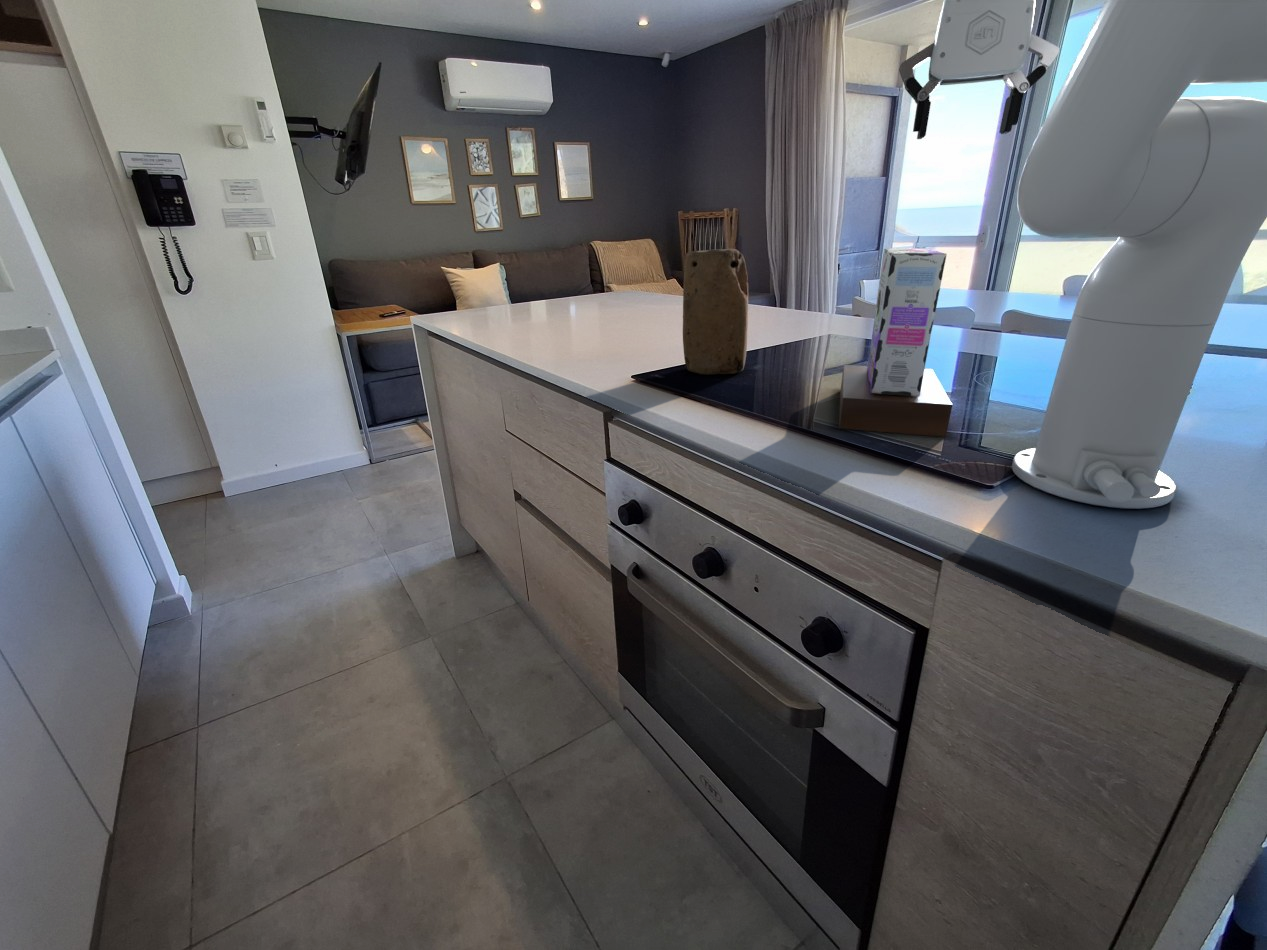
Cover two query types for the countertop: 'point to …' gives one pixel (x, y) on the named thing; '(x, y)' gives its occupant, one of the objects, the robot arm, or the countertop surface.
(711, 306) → the block
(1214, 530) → the countertop surface
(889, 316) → the candy box
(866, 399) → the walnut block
